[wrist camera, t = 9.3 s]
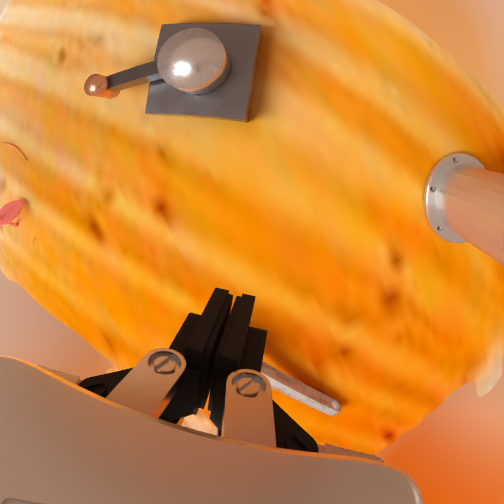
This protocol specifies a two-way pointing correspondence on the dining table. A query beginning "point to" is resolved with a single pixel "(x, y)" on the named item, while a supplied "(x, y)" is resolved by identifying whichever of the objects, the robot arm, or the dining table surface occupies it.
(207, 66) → the ball-ended lever handle
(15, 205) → the figurine
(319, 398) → the wrench
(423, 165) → the dining table surface
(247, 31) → the base
